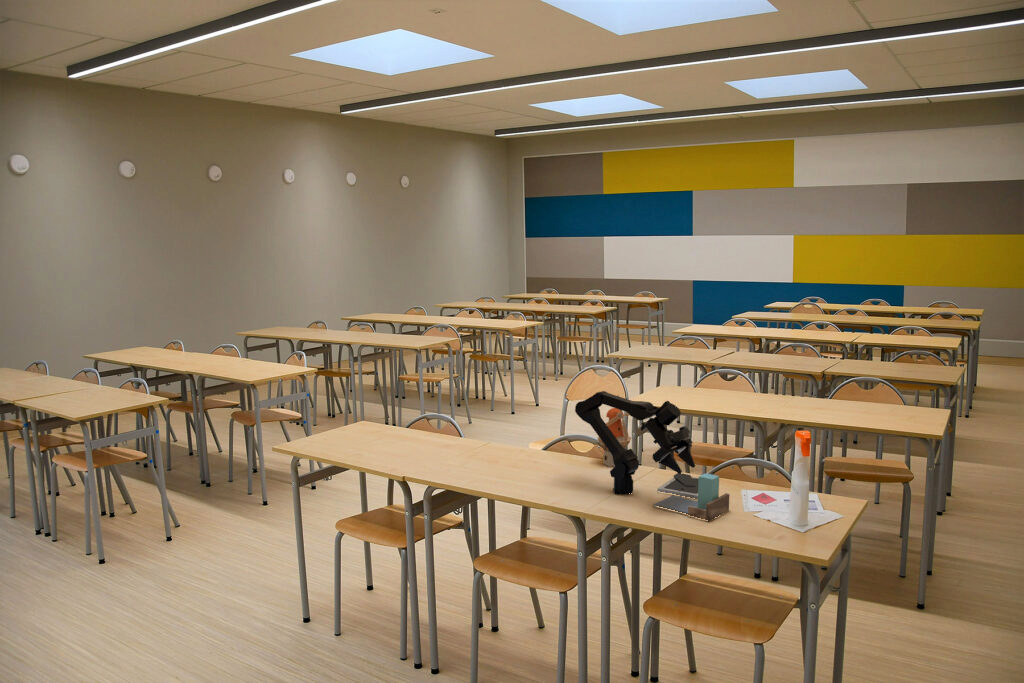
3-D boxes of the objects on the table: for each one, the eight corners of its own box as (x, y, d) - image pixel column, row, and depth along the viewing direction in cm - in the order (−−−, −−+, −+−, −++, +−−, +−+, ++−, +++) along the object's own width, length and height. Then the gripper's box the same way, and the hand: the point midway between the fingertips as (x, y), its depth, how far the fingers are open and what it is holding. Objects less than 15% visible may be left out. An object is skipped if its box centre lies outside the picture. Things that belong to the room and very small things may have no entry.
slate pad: (653, 507, 268) (653, 504, 268) (672, 497, 278) (672, 495, 278) (687, 515, 260) (687, 512, 260) (705, 506, 270) (705, 503, 269)
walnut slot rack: (687, 516, 259) (688, 499, 258) (708, 505, 270) (708, 489, 269) (709, 522, 254) (709, 504, 253) (728, 511, 265) (729, 494, 264)
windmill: (615, 473, 308) (617, 398, 304) (585, 466, 317) (586, 394, 313) (638, 463, 321) (640, 392, 317) (608, 457, 330) (610, 388, 326)
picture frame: (677, 479, 302) (657, 493, 284) (678, 472, 301) (657, 486, 284) (717, 486, 293) (699, 501, 276) (717, 479, 293) (699, 493, 276)
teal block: (697, 513, 262) (698, 476, 260) (704, 510, 266) (705, 473, 264) (710, 517, 259) (712, 479, 257) (717, 513, 262) (719, 476, 261)
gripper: (661, 424, 260) (690, 462, 254) (688, 415, 274) (716, 451, 268) (640, 443, 266) (668, 481, 260) (668, 433, 280) (694, 469, 274)
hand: (687, 470), depth 266 cm, fingers open, 9 cm apart
